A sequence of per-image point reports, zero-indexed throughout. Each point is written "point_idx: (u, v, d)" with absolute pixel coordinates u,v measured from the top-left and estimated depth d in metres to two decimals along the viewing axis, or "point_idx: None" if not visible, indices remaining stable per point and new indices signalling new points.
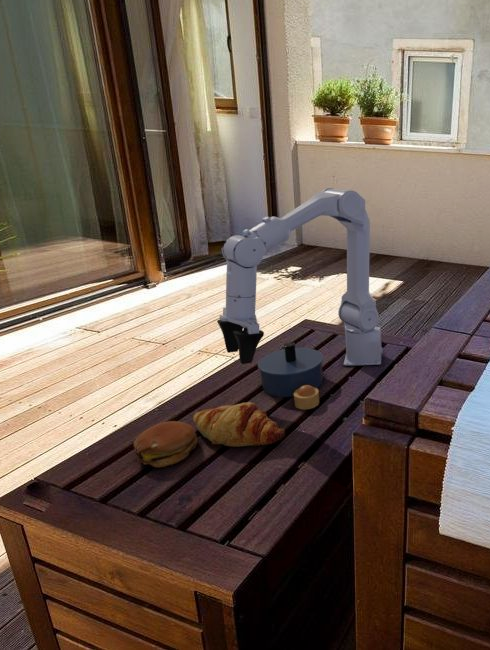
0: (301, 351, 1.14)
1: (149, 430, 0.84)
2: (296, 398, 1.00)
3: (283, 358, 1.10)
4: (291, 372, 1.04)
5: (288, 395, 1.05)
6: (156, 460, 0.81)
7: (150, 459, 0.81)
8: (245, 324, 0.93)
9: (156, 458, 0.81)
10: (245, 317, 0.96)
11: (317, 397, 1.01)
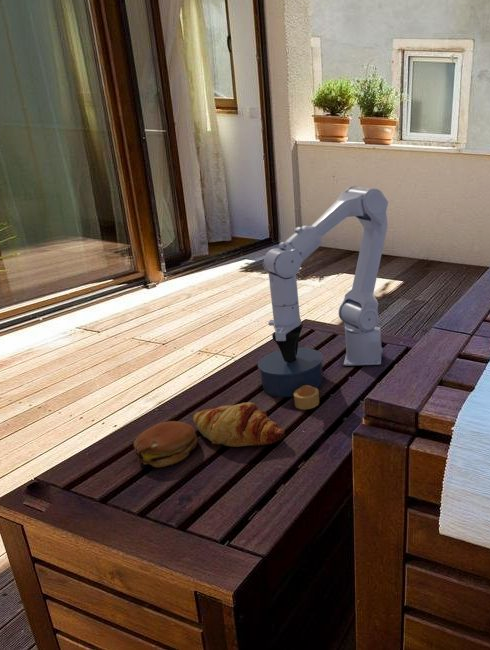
0: (301, 351, 1.14)
1: (149, 430, 0.84)
2: (296, 398, 1.00)
3: None
4: (291, 372, 1.04)
5: (288, 395, 1.05)
6: (156, 460, 0.81)
7: (150, 459, 0.81)
8: None
9: (156, 458, 0.81)
10: (283, 324, 1.04)
11: (317, 397, 1.01)
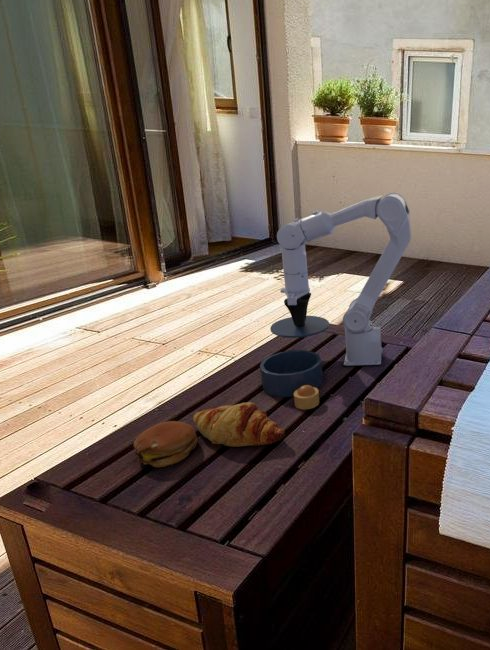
0: (309, 318, 1.26)
1: (149, 430, 0.84)
2: (296, 398, 1.00)
3: (293, 324, 1.22)
4: (301, 334, 1.15)
5: (288, 395, 1.05)
6: (156, 460, 0.81)
7: (150, 459, 0.81)
8: (287, 296, 1.12)
9: (156, 458, 0.81)
10: (294, 291, 1.15)
11: (317, 397, 1.01)
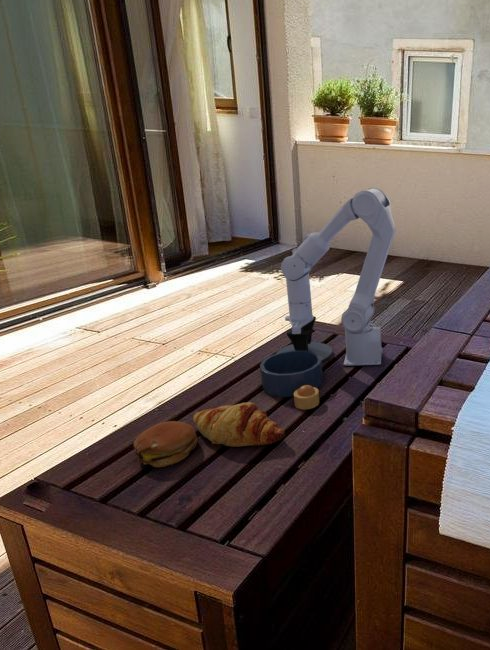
0: (312, 345, 1.30)
1: (149, 430, 0.84)
2: (296, 398, 1.00)
3: None
4: None
5: (288, 395, 1.05)
6: (156, 460, 0.81)
7: (150, 459, 0.81)
8: (292, 325, 1.17)
9: (156, 458, 0.81)
10: (298, 319, 1.19)
11: (317, 397, 1.01)
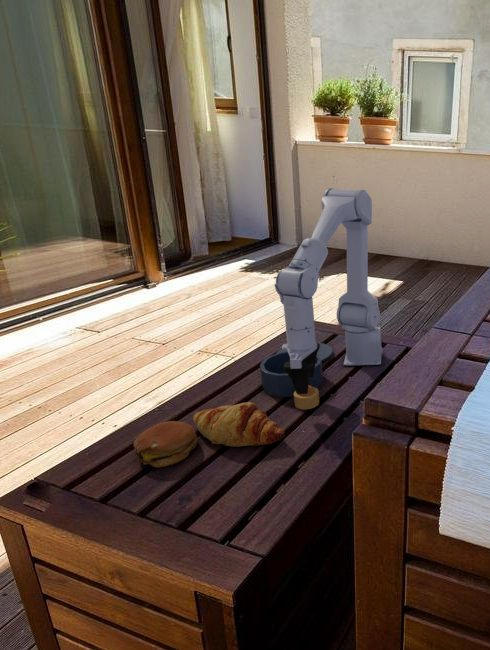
0: None
1: (149, 430, 0.84)
2: (296, 398, 1.00)
3: None
4: None
5: (288, 395, 1.05)
6: (156, 460, 0.81)
7: (150, 459, 0.81)
8: (290, 358, 0.93)
9: (156, 458, 0.81)
10: (298, 349, 0.95)
11: (317, 397, 1.01)
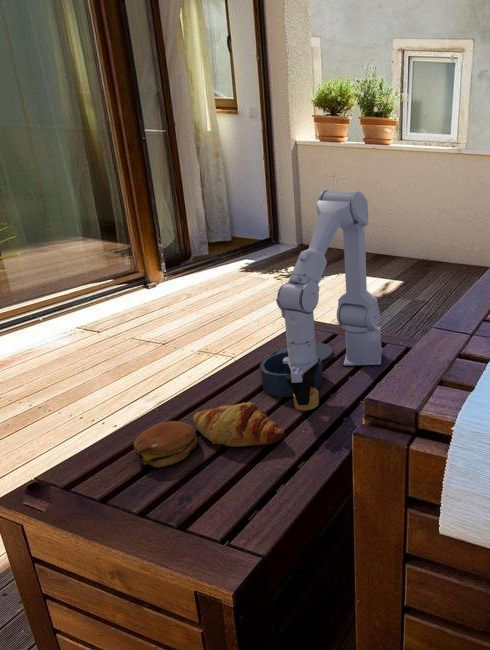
0: None
1: (149, 430, 0.84)
2: None
3: None
4: None
5: (288, 395, 1.05)
6: (156, 460, 0.81)
7: (150, 459, 0.81)
8: (291, 371, 0.93)
9: (156, 458, 0.81)
10: (299, 362, 0.96)
11: (317, 398, 1.01)
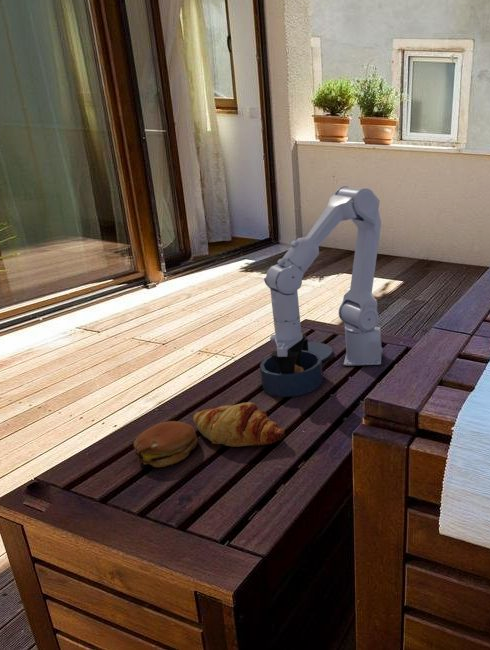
0: (312, 345, 1.30)
1: (149, 430, 0.84)
2: None
3: None
4: None
5: (288, 395, 1.05)
6: (156, 460, 0.81)
7: (150, 459, 0.81)
8: None
9: (156, 458, 0.81)
10: (285, 339, 1.05)
11: None
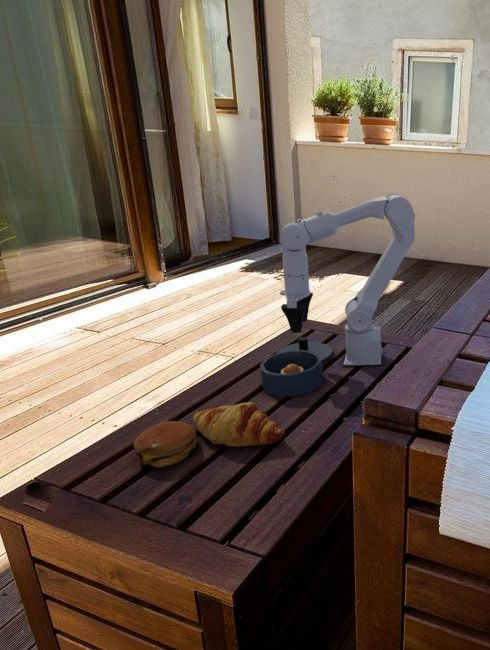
0: (312, 345, 1.30)
1: (149, 430, 0.84)
2: None
3: None
4: None
5: (288, 395, 1.05)
6: (156, 460, 0.81)
7: (150, 459, 0.81)
8: (287, 299, 1.09)
9: (156, 458, 0.81)
10: (294, 293, 1.12)
11: None
